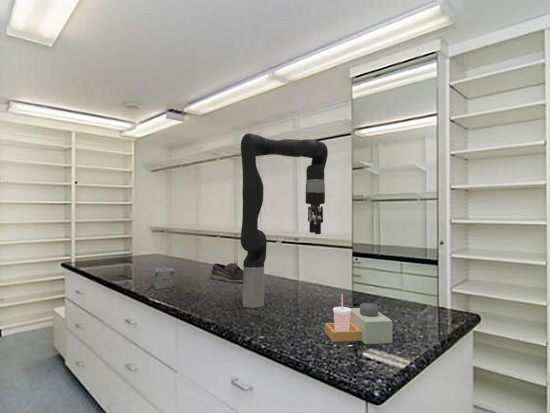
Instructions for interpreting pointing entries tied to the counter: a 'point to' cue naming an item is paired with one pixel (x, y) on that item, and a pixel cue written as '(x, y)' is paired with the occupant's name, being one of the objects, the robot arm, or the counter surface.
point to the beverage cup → (342, 317)
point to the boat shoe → (227, 273)
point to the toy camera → (364, 326)
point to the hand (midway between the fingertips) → (315, 233)
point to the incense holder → (164, 278)
